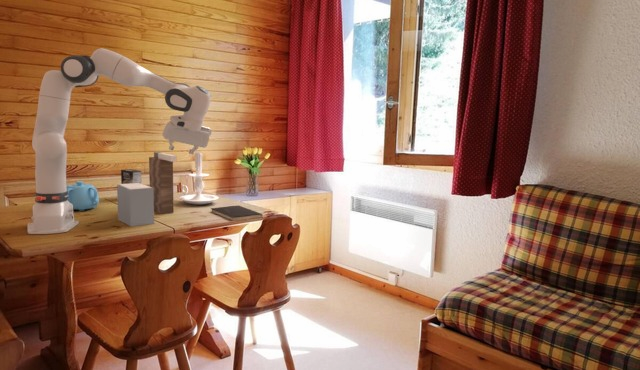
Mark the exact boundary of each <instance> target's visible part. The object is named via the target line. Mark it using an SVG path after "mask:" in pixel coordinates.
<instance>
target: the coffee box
mask: <svg viewBox="0 0 640 370" xmlns="http://www.w3.org/2000/svg"><path fill="white" fill-rule="evenodd" d="M120 179H121V180H120V182H121V183H120V184H129V183H141V184H142V170H138V169H132V168H130V169H121V170H120Z"/></svg>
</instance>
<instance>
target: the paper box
mask: <svg viewBox="0 0 640 370" xmlns="http://www.w3.org/2000/svg"><path fill="white" fill-rule="evenodd" d="M116 188H117V191H116V192H117V193H116V194H117V195H116V196H117V219H118V221H120V222H121V223H124V224H126V225H127V226H129V227H138V226H145V225H147V226H148V225H153V224H155V211H154V193H153V188H152V187H150V185H146V184H143V183H142V182H141V183H129V184H121V183H118V184H117V185H116Z"/></svg>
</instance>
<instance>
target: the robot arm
mask: <svg viewBox="0 0 640 370" xmlns="http://www.w3.org/2000/svg"><path fill="white" fill-rule="evenodd" d="M99 76H103V77H105V78H107V79H109V80H111V81H114V82H116V83H117V84H120V85H123V86H127V87H146V88H150V89H152V90H155V91H157V92H160V93H161V94H164V96H165V97H164V102H165V104H166V105H167V107H168V108H170V109H172V110H174V111H178V112H183V114H182V115H181V114H180V115H171V116H170V118H169V120H170V121H168V122H167V123H166V125H165V126H164V128H163V131H162V136H163V138H164V139H165V140H167V141H168V143H169V146H168V150H169V151H174V149H175V146H174V145H173V143H175V142H176V143H177V142H178V143H181V144H185V145H189V146H193V147H192V148H191V149H189V150H188V153H189V155H194V154H195V153H194V152H196V151H197V150H198V149H199V147H200V148H204V149H205V148H207V146H208V144H209V140H210V137H211V135H212V130H211V128H210V127H206V126H203V124H204V121H205V116H206V114H207V113H208V111H209V108H210V104H211V101H212V95H211V93H210V91H208V90H207V89H205V88H204V87H202V86H199V85H195V86H190V85H189V84H187V83H182V82H181V83H180V82H174V81H171V80H169V79H167V78H164V77H162V76H160V75H158V74H156V73H153V72H152V71H150V70H149V69H147V68H145V67H143V66H142V65H140V64H138V63H136V62H135V61H134V60H132V59H130V58H128V57H126V56H125V55H123V54H120V53H118V52H115V51H113V50H110V49H107V48H102V47H100V48H97V49H96V50H94V51H93V53H92V54H91V56H89V55H87V54H86V55H70V56H67V57H65V58H64V59H63V60H62V61H61V63H60V70H57V69H51V70H47V71H46V72H45V73H44V75H43V78H42V81H41V84H40V87H39V96H38V103H37V111H36V117H35V123H34V129H33V133H32V139H31V140H32V142H31V146H32V150H33V151H34V153H35V154H34V155H35V167H34V168H35V170H34V172H35V173H34V175H35V191H36V192H35V193H34V201H35V203H34V204H33V205H32V216H30V220H31V221H33V222H28V223H27V224H26V225H27V227H26V228H27V234H28V235H49V234H61V233H66V232H69V231H70V230H72V229H73V228H74V227H76V226H78V225H79V220H75V218H74V217H75V216H74V209H73V205H72V204H71V203H70V202H69V201H68V191H67V186H66V185H67V159H68V158H67V157H68V156H67V155H68V148H67V141H66V140H65V138H64V137H65V132H66V128H67V123H68V119H69V113H70V112H69V111H70V105H71V96H72V91H73V89H74V88H83V87H84V88H86V87H90V86H92V85H94V84H95V83H96V82H98V79H99Z"/></svg>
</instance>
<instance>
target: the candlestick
mask: <svg viewBox="0 0 640 370" xmlns="http://www.w3.org/2000/svg"><path fill="white" fill-rule="evenodd" d="M194 168H195V173H188V174H187V176H190V177H192V178H195V181H194V182H193V189H194V190H195V191H196V193H195V194H188V192H189V187H188V186H187V185H184V184H181V186H182V188H181V191H182V193H183V195H181V196H179V198H178V199H179V200H181V201H183V202H184V203H186V204H190V205H209V204H210V203H213V202H215V201H216V200H218V199H219V198H220V197H219V196H218V195H214V194H204V193H203V194H202V191H203V190H204V189H205V183H204V181H203V178H205V177H208V176H210V174H209V173H203V152H202V153H201V152H199V151H198V152H195V153H194ZM184 188H185V189H186V190H185V189H184Z"/></svg>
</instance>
